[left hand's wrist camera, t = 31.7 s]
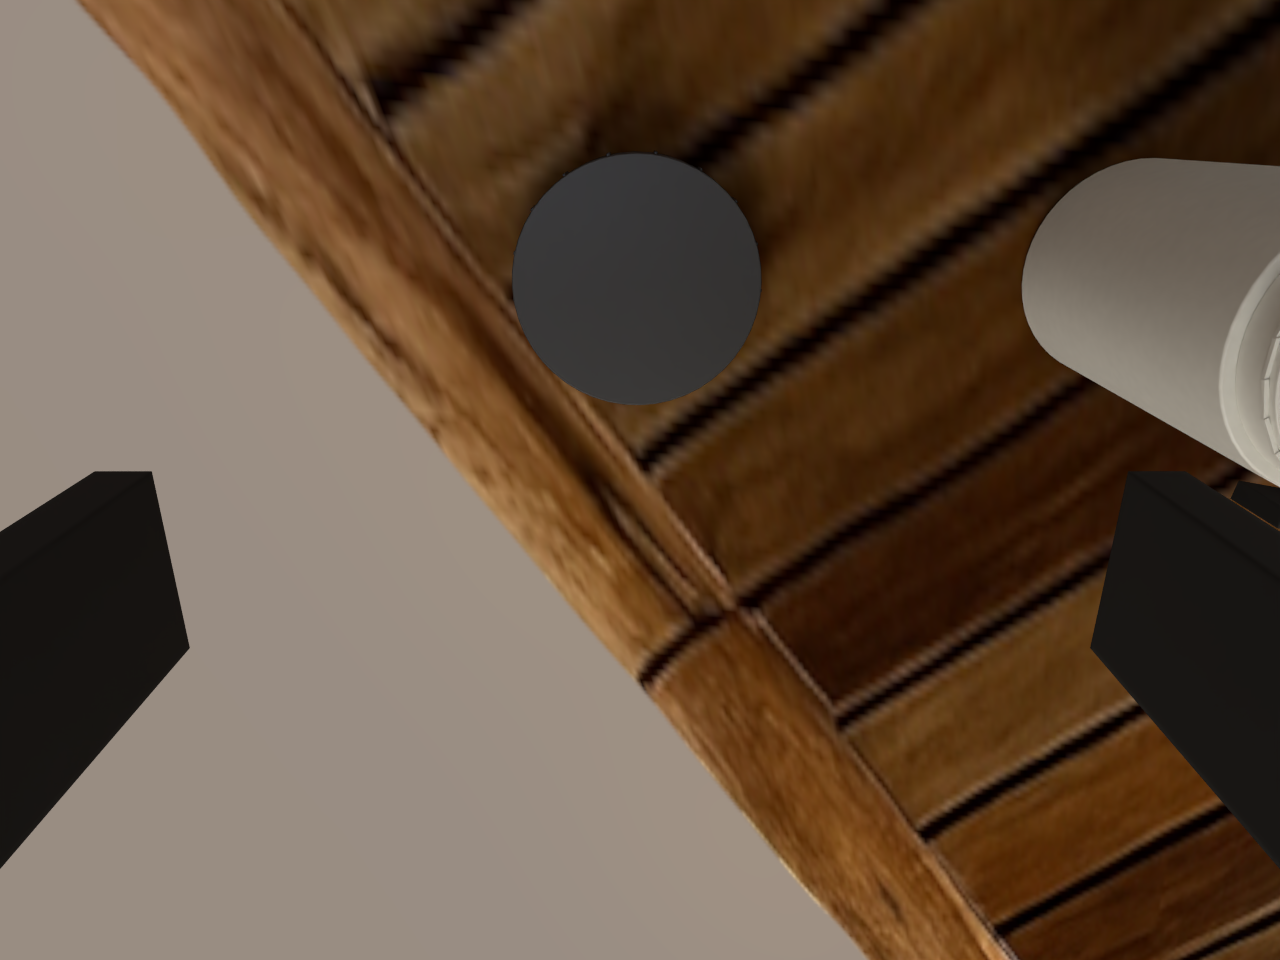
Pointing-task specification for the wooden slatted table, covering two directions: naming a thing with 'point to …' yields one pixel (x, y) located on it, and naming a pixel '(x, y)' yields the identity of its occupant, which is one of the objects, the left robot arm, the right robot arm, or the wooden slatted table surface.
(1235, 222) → the jar
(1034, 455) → the wooden slatted table surface
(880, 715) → the wooden slatted table surface
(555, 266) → the lid
